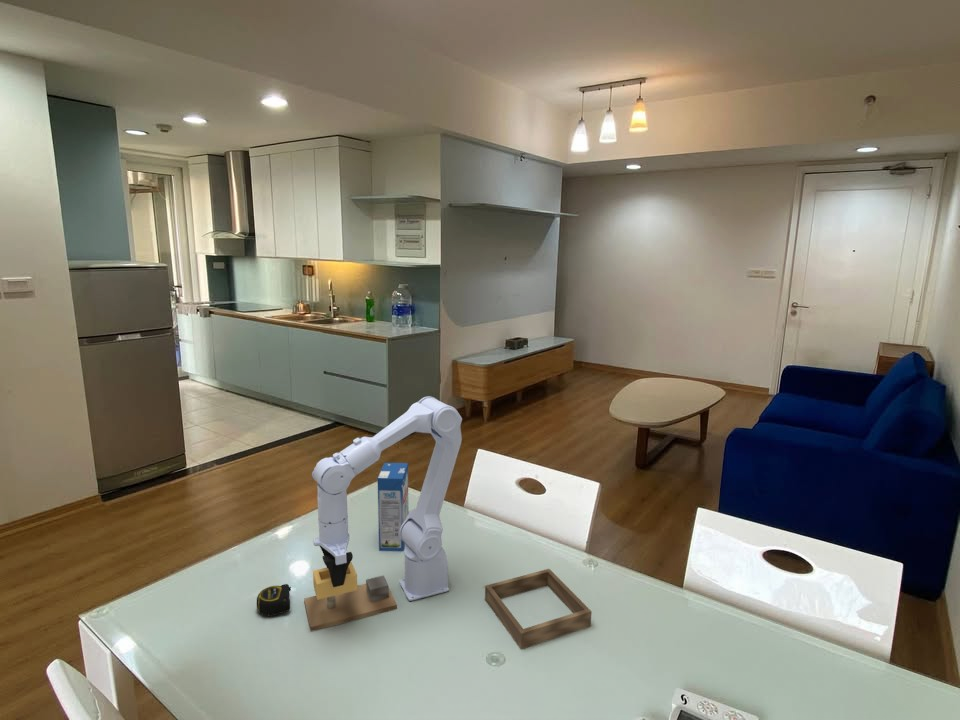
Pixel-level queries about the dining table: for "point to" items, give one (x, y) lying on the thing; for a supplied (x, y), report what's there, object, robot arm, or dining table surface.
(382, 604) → the board
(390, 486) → the milk carton
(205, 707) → the dining table surface
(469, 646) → the dining table surface
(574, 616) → the frame
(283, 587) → the tape measure
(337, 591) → the link
